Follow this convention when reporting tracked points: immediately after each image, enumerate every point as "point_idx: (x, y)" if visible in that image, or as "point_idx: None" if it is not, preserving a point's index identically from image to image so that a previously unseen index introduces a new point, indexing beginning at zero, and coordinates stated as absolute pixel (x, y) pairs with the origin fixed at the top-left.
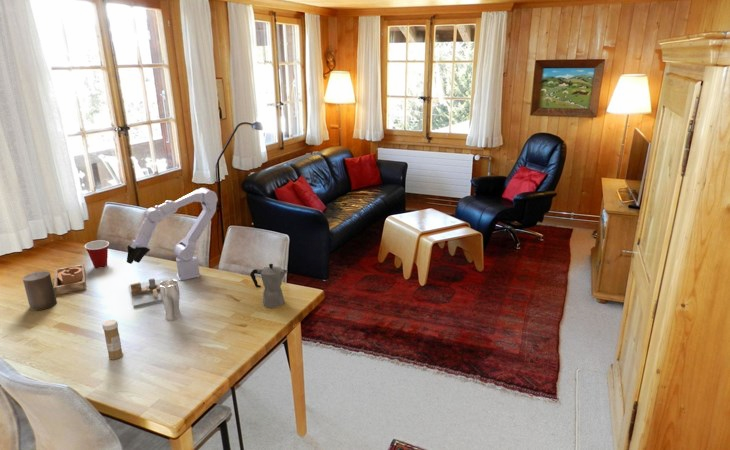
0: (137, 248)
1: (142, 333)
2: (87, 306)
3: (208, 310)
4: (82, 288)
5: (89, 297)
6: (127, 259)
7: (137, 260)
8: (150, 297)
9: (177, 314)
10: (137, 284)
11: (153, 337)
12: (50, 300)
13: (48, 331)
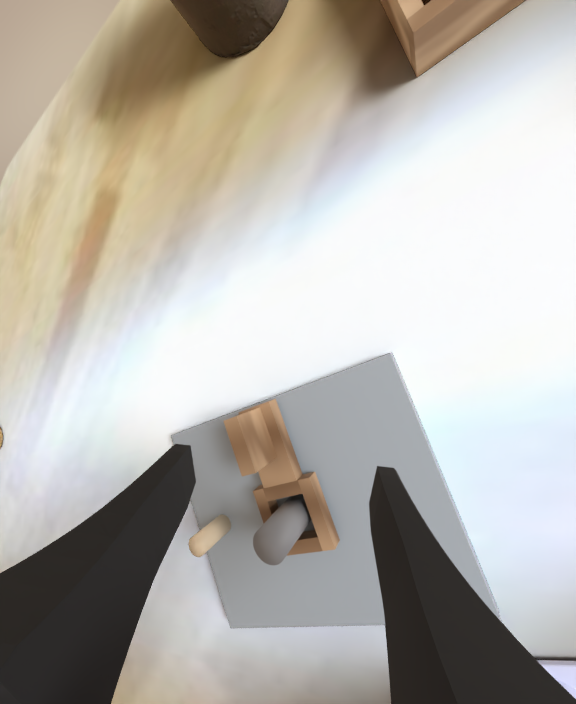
0: (432, 661)
1: (56, 484)
2: (211, 225)
3: (142, 700)
4: (409, 54)
5: (296, 178)
6: (154, 467)
7: (373, 508)
8: (228, 498)
9: None
10: (237, 457)
11: (41, 515)
12: (201, 27)
13: (80, 193)
